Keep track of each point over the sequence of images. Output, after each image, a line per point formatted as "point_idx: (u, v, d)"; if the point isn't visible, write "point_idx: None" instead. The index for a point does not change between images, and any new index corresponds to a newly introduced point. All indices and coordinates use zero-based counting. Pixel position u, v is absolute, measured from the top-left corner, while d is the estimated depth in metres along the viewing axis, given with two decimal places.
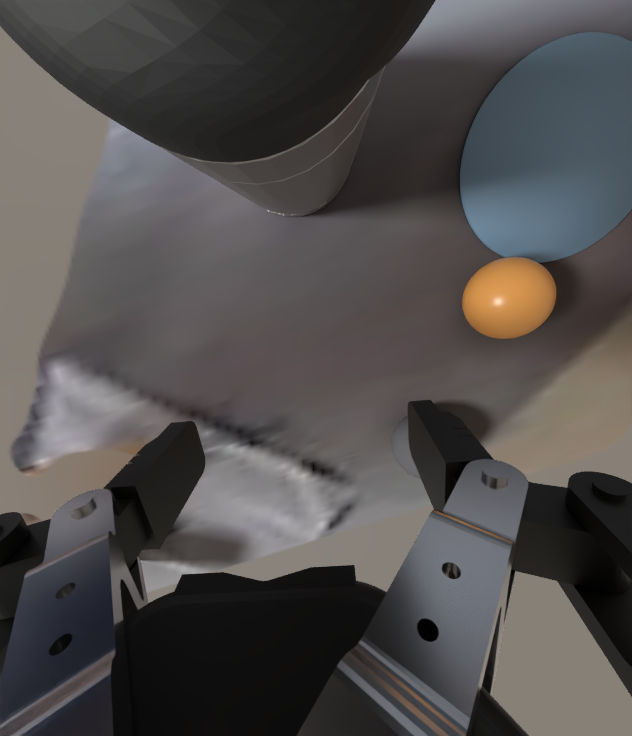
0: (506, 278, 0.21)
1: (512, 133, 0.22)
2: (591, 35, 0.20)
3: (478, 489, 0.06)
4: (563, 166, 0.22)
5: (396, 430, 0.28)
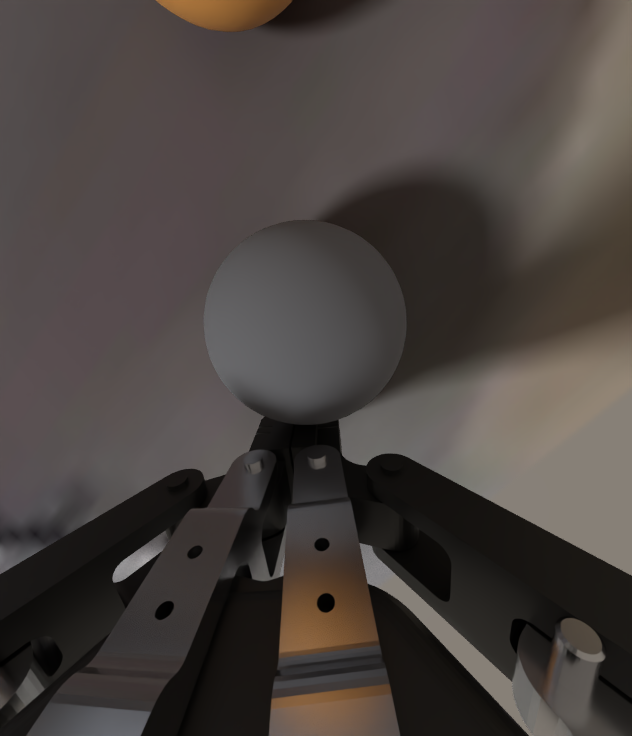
0: None
1: None
2: None
3: (310, 473, 0.07)
4: None
5: None
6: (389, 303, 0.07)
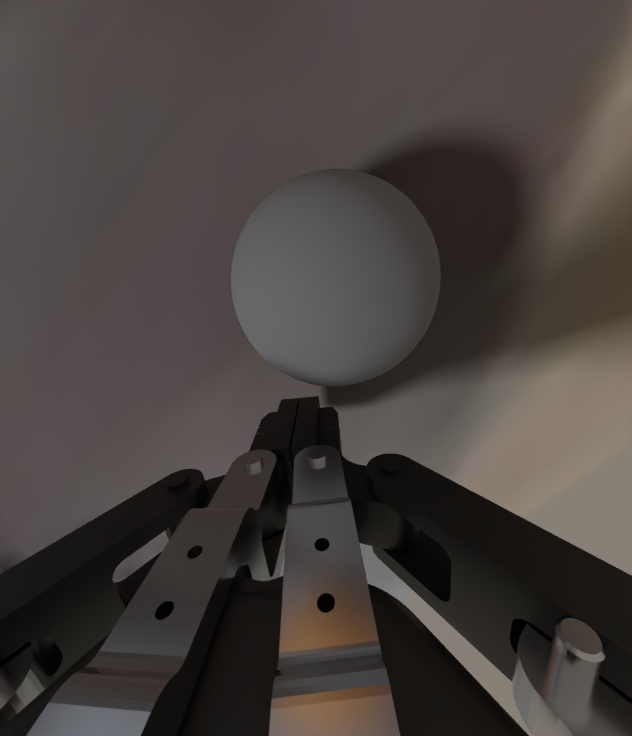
0: None
1: None
2: None
3: (310, 473, 0.07)
4: None
5: (233, 301, 0.08)
6: None
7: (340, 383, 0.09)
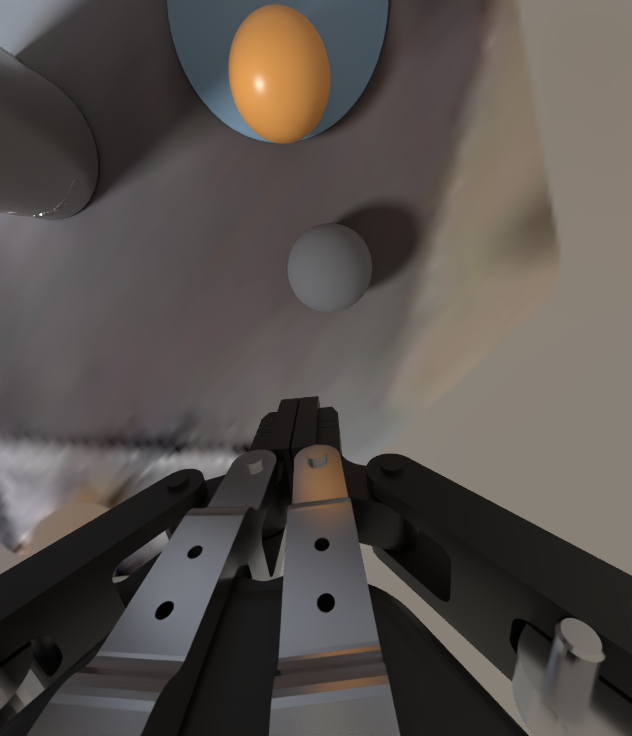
0: None
1: (212, 13, 0.20)
2: None
3: (310, 473, 0.07)
4: None
5: (289, 274, 0.21)
6: None
7: (332, 307, 0.21)
